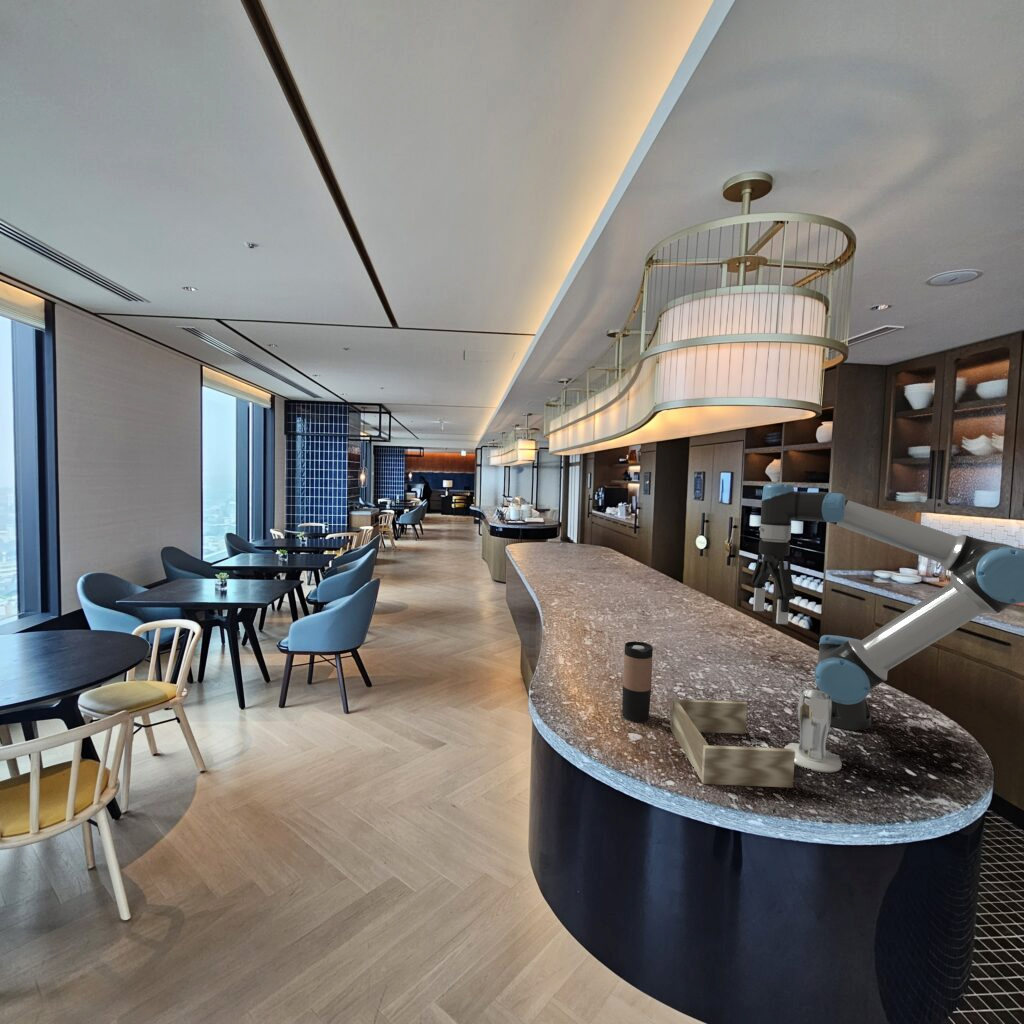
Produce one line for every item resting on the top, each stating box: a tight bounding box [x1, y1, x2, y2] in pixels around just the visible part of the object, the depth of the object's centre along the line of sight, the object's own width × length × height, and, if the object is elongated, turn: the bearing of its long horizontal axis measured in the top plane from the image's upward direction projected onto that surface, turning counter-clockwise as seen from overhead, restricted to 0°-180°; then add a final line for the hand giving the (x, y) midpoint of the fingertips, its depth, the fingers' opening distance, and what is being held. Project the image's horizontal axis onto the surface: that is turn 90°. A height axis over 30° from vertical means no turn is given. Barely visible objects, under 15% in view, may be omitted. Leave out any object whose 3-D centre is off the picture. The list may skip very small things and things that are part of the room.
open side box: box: [669, 698, 795, 788], centre depth 126 cm, size 19×25×8 cm
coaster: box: [784, 743, 843, 774], centre depth 126 cm, size 12×12×1 cm
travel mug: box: [621, 641, 654, 723], centre depth 145 cm, size 8×8×20 cm
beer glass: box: [797, 688, 832, 762], centre depth 126 cm, size 7×7×15 cm
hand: (769, 617), depth 145 cm, fingers open, 13 cm apart
